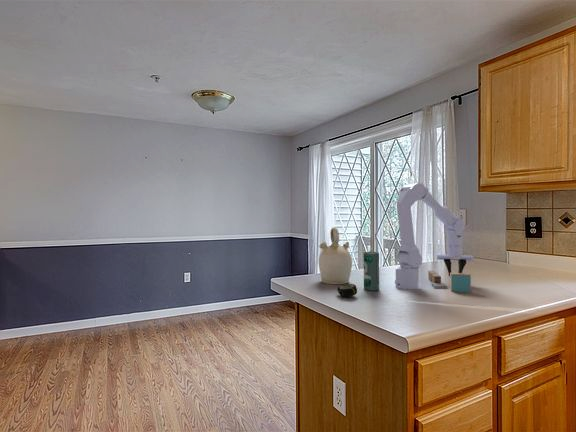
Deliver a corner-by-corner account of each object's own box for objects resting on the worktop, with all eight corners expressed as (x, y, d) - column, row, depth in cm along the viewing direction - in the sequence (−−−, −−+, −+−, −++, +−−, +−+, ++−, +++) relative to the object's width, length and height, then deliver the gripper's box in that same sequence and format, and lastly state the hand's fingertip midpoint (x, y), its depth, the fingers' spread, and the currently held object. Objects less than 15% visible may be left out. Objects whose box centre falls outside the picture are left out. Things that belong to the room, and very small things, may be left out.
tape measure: (355, 290, 134) (353, 281, 133) (359, 296, 127) (357, 286, 127) (338, 294, 134) (336, 285, 133) (341, 300, 127) (339, 291, 126)
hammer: (425, 279, 161) (425, 270, 161) (437, 279, 160) (436, 271, 160) (434, 288, 142) (434, 278, 142) (447, 288, 141) (447, 279, 141)
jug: (317, 285, 151) (316, 228, 150) (320, 278, 166) (319, 226, 166) (352, 285, 148) (352, 228, 148) (352, 278, 164) (351, 226, 163)
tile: (451, 291, 136) (451, 273, 136) (450, 290, 139) (450, 272, 139) (470, 292, 134) (470, 274, 134) (469, 291, 136) (469, 273, 136)
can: (363, 287, 146) (363, 251, 146) (378, 287, 145) (377, 251, 145) (364, 290, 140) (364, 253, 140) (379, 290, 139) (379, 253, 139)
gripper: (438, 246, 149) (438, 277, 149) (475, 246, 145) (475, 278, 145) (435, 244, 155) (436, 274, 156) (471, 245, 151) (471, 275, 151)
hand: (454, 276), depth 151 cm, fingers open, 3 cm apart
